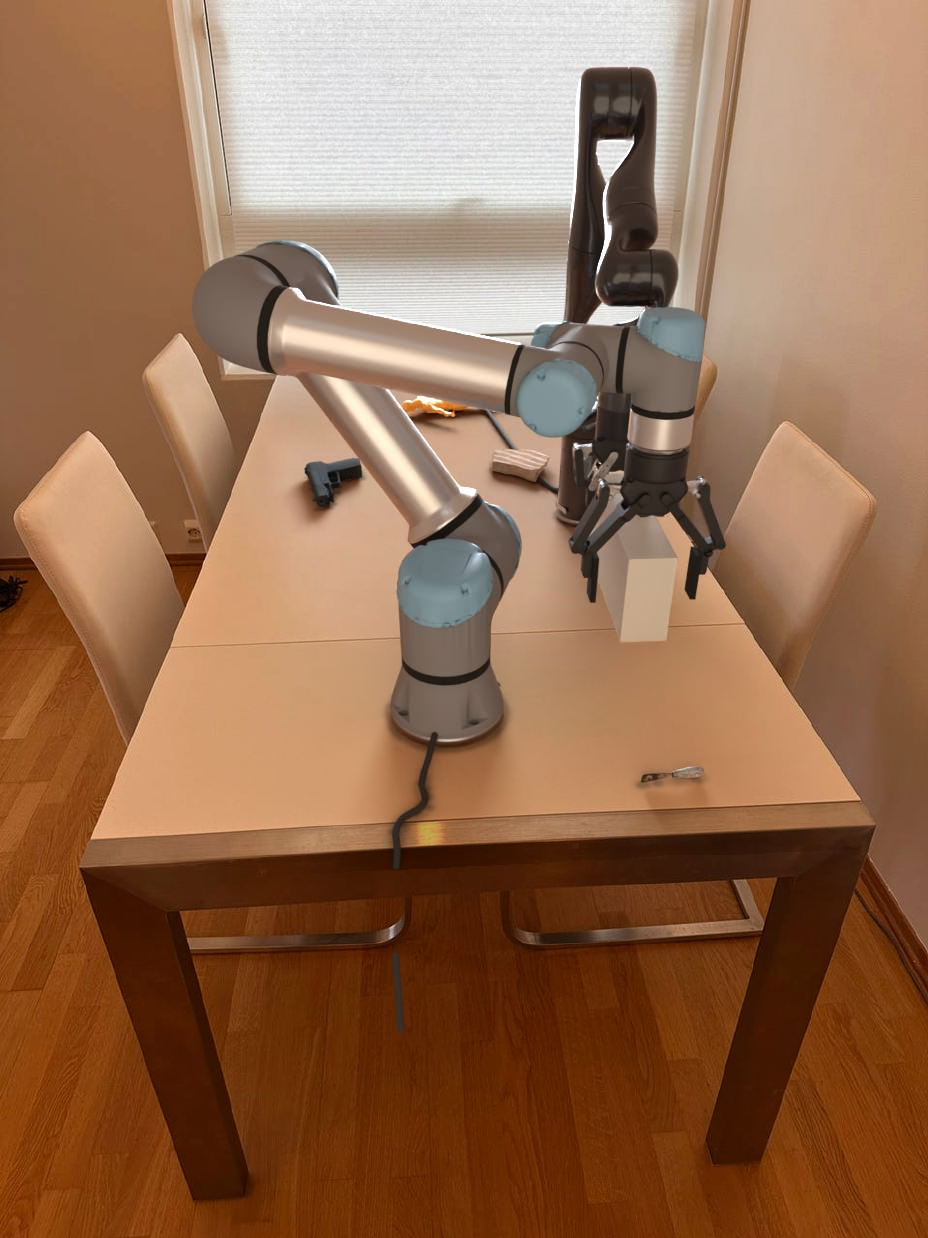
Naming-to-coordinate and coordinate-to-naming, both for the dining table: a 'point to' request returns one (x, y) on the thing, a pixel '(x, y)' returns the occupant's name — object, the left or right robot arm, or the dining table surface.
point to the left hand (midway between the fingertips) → (640, 596)
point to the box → (637, 575)
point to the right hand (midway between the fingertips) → (614, 510)
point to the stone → (519, 462)
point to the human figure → (431, 406)
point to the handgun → (330, 477)
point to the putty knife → (674, 774)
